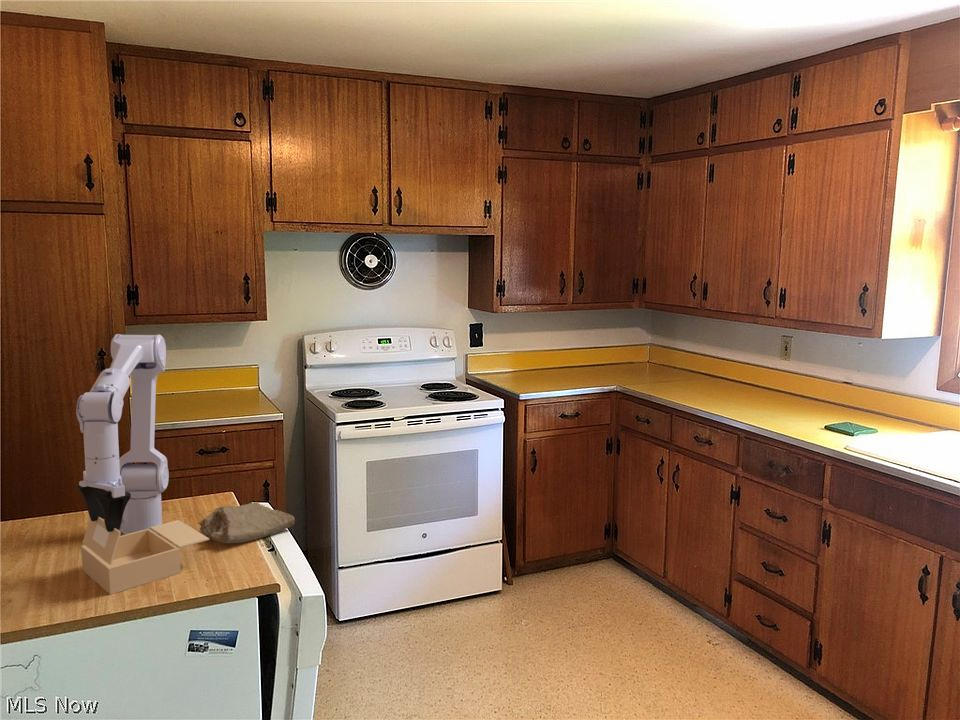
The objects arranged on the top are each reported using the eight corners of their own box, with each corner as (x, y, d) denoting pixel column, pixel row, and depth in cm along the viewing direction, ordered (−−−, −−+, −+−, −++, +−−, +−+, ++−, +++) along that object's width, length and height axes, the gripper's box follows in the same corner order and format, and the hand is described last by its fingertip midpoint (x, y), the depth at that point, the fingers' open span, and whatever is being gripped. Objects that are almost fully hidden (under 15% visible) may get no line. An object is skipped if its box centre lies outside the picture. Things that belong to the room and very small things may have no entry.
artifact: (187, 537, 163) (223, 560, 153) (184, 506, 161) (220, 527, 151) (259, 510, 176) (296, 529, 167) (257, 481, 174) (294, 499, 165)
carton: (82, 570, 143) (81, 544, 143) (179, 543, 157) (178, 519, 157) (110, 594, 134) (108, 567, 133) (210, 563, 148) (209, 538, 147)
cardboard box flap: (84, 542, 143) (82, 542, 143) (93, 512, 143) (91, 512, 143) (111, 564, 134) (109, 564, 133) (121, 532, 134) (119, 532, 134)
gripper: (64, 451, 139) (68, 520, 140) (94, 467, 129) (98, 541, 131) (103, 445, 144) (107, 511, 146) (135, 460, 134) (138, 531, 136)
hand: (105, 525), depth 139 cm, fingers open, 7 cm apart
